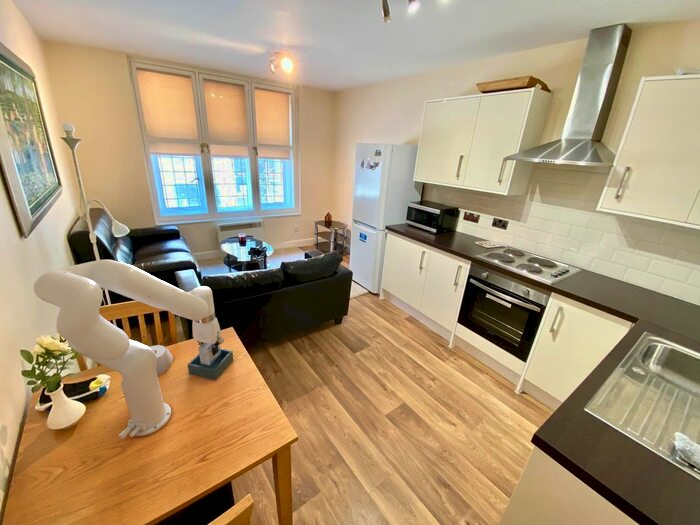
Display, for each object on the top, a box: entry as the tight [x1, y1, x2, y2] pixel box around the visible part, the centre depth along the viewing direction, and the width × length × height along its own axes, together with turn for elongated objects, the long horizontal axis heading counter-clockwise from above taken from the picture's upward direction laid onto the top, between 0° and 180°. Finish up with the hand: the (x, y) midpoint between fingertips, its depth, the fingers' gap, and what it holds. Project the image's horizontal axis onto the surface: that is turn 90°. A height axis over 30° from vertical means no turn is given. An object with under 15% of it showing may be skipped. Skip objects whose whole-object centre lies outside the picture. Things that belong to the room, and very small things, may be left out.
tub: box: [187, 347, 234, 381], centre depth 124 cm, size 13×13×5 cm
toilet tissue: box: [149, 344, 174, 377], centre depth 122 cm, size 9×13×9 cm
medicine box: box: [197, 340, 222, 365], centre depth 122 cm, size 8×4×9 cm, turn 168°
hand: (210, 351), depth 122 cm, fingers closed on medicine box, 4 cm apart
